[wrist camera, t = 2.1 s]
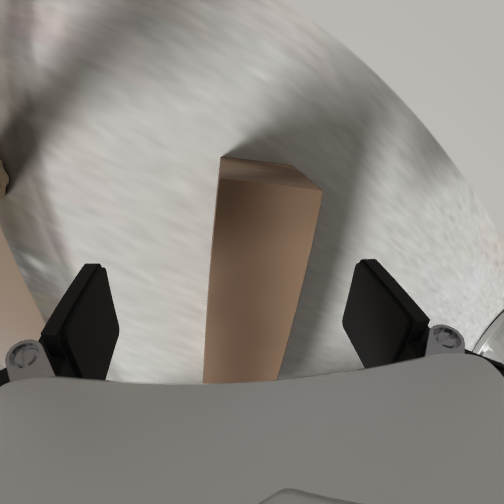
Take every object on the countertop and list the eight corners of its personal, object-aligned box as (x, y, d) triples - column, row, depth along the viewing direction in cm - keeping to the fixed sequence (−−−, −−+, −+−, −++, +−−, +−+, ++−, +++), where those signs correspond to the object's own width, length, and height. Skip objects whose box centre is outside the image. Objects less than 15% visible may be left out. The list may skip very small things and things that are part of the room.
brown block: (291, 164, 17) (323, 191, 12) (250, 383, 24) (257, 442, 19) (220, 156, 16) (219, 178, 11) (202, 381, 24) (201, 441, 18)
